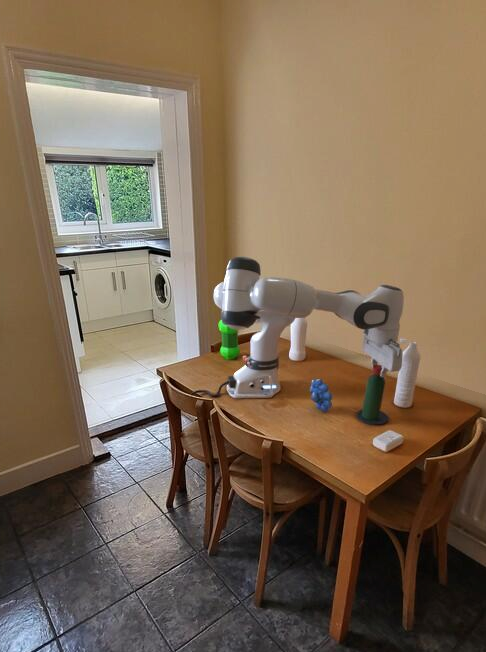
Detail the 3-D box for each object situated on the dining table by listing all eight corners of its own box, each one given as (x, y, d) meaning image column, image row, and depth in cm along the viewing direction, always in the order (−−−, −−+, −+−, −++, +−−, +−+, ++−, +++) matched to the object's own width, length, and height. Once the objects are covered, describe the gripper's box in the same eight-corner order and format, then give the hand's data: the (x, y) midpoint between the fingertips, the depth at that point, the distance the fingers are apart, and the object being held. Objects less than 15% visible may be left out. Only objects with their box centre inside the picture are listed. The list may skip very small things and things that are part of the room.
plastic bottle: (219, 354, 208) (217, 306, 198) (239, 353, 209) (238, 305, 199) (220, 361, 199) (218, 311, 189) (241, 360, 200) (241, 310, 190)
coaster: (365, 427, 143) (365, 425, 142) (351, 412, 152) (351, 410, 152) (394, 423, 145) (394, 421, 144) (378, 408, 154) (378, 407, 154)
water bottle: (415, 405, 157) (426, 343, 146) (403, 409, 154) (415, 346, 143) (396, 396, 163) (406, 336, 153) (385, 400, 160) (394, 339, 150)
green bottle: (366, 421, 145) (375, 372, 137) (358, 413, 150) (366, 366, 142) (381, 419, 146) (391, 371, 138) (373, 411, 151) (381, 365, 144)
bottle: (306, 361, 198) (310, 300, 186) (289, 361, 199) (292, 300, 186) (304, 355, 206) (307, 296, 193) (288, 355, 206) (290, 296, 193)
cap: (380, 370, 143) (381, 364, 142) (386, 375, 139) (387, 369, 138) (369, 371, 142) (370, 365, 141) (375, 375, 139) (376, 369, 138)
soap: (388, 436, 137) (389, 428, 136) (403, 443, 133) (404, 435, 132) (371, 445, 132) (372, 437, 131) (386, 453, 128) (387, 445, 127)
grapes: (301, 405, 157) (302, 377, 152) (314, 401, 160) (316, 373, 155) (321, 418, 148) (323, 388, 143) (335, 414, 151) (338, 384, 146)
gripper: (410, 344, 127) (403, 385, 132) (377, 325, 145) (372, 362, 151) (392, 346, 125) (385, 386, 131) (361, 326, 144) (356, 363, 149)
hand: (378, 373), depth 141 cm, fingers closed on cap, 4 cm apart
